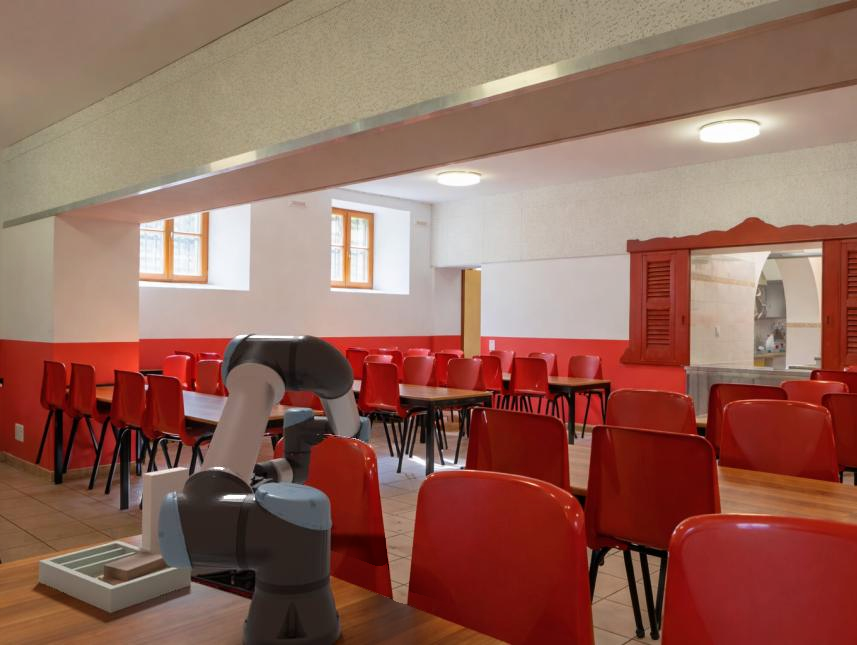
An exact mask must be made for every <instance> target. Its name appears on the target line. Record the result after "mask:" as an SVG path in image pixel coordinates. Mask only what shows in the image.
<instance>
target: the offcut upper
mask: <svg viewBox="0 0 857 645" xmlns="http://www.w3.org/2000/svg"><path fill="white" fill-rule="evenodd" d="M165 567H167V564H166V563H165V561H164V560H163V558H162V555H159V554H155V553H150V552H146V551H144V552H141V553H138V554H135V555H132V556H129V557H126V558H123V559H120V560H117V561H114V562H111V563H108V564H106V565H104V576H105V577H109V578H113V579H117V580H121V581H125V582H127V581H130V580H133V579H136V578H139V577H142V576H144V575H147V574H150V573H152V572H155V571H158V570H160V569H163V568H165Z"/></svg>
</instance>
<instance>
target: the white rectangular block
mask: <svg viewBox="0 0 857 645" xmlns="http://www.w3.org/2000/svg"><path fill="white" fill-rule="evenodd" d="M189 477H190V468H188V467H182V466H180V467H179V466H178V467H173V468H168V469H162V470H155V471H149V472H146V473H142V501H141V502H142V505H141V506H142V509H141V510H142V513H141V514H142V515H141V519H142V521H141V548H143V549H146V550H149V551H152V552H155V553H158V554H161V552H160V548H159V541H158V518H159V511H160V506H161V503H162V500H163V498H164V496H165V495H166V494H168V493H170V492H174V491H177V492H182V490H183V488H184V485H185V483H186V481H187V479H188V478H189Z"/></svg>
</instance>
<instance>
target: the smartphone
mask: <svg viewBox="0 0 857 645" xmlns="http://www.w3.org/2000/svg"><path fill="white" fill-rule="evenodd" d="M191 581H192V582H194V583H197V582H199V583H198V584H201V583H202V585H204V584H206V585H205V586H208V585H210V586H209V587H212V586H213V587H212V588H215V587H217V588H216V589H219V588H220V589H219V590H222V589H223V591H226V590H227V591H226V592H230V591H231V592H230V593H233V592H234V594H237V595H240V594H241V596H244V597H247V596H248V598H251V599H252V597H253V594H254V591H255V570H232V569H194V570H191Z"/></svg>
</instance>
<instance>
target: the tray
mask: <svg viewBox="0 0 857 645" xmlns="http://www.w3.org/2000/svg"><path fill="white" fill-rule="evenodd" d="M144 551H146V552H150V553H155V552H152V551H149V550H146V549H143V548H142V547H139V546H135V545H133V544H130V543H127V542H124V541H121V540H115V541H110V542H108V543H104V544H100V545H95V546H93V547H87V548H84V549H83V548H82V549H80V550H76V551H72V552H69V553H65V554H60V555H56V556H53V557H49V558H45V559H42V560H39V561H38V583H40V584H42V585H44V584H45V586H46V587H49V586H50V587H49V588H51V587H52V588H51V589H54V588H55V589H54V590H56V589H57V591H58V590H59V591H58V592H61V593H63V592H64V593H63V594H65V593H66V594H65V595H68V596H70V597H72V598H75V599H76V600H80V601H82V602H84V603H87V604H89V605H91V606H93V607H96V608H98V609H100V610H103V611H105V612H107V613H109V614H111V613H114V612H118V611H119V610H123V609H126V608H128V607H132V606H135V605H137V604H141V603H144V602H146V601H149V600H152V599H155V598H158V597H161V596H164V595H166V593H167V594H170V593H173V592H175V590H176V591H178V589H179V590H182V589H184V588H187V587H189V586H192V585H191V570H190V569H186V568H173V567H170V566H169V565H167V567H165V568H168V569H165V570H162V571H159V572H156V573H153V574H149V575H146V576H143V577H140V578H136V579H133V580H130V581H127V582H124V583H120V584H117V585H114V586H113V585H110V584H108V583H105V582H103V581H100V580H98V576H101V575H104V565H106V564H108V563H111V562H114V561H117V560H120V559H123V558H126V557H129V556H132V555H135V554H138V553H141V552H144ZM155 554H158V553H155ZM159 555H161V554H159ZM172 591H173V592H172ZM169 592H170V593H169ZM163 594H164V595H163ZM160 595H161V596H160Z"/></svg>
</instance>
